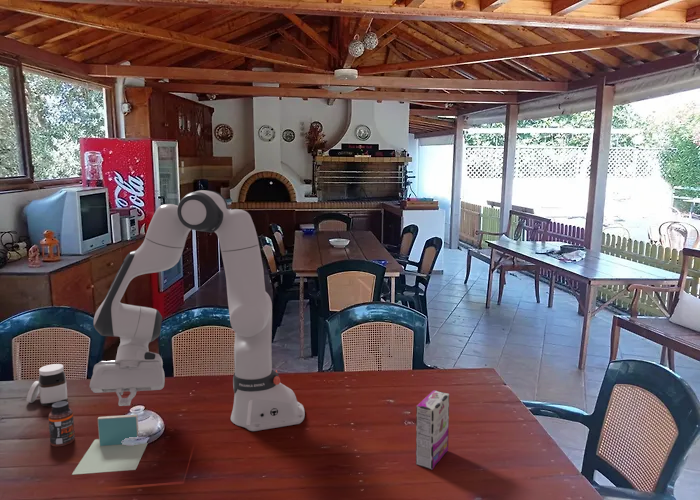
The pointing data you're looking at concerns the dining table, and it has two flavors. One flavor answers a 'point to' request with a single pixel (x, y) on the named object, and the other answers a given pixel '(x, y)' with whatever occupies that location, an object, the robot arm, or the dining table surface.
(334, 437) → the dining table surface
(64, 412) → the supplement bottle
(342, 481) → the dining table surface
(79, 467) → the mat
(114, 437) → the tile
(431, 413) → the candy bar box
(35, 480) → the dining table surface
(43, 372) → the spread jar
